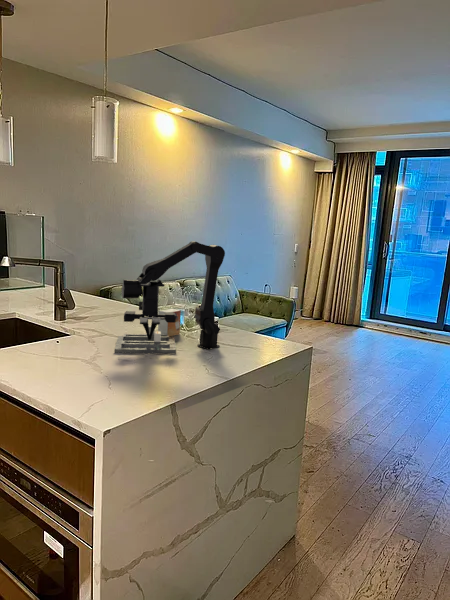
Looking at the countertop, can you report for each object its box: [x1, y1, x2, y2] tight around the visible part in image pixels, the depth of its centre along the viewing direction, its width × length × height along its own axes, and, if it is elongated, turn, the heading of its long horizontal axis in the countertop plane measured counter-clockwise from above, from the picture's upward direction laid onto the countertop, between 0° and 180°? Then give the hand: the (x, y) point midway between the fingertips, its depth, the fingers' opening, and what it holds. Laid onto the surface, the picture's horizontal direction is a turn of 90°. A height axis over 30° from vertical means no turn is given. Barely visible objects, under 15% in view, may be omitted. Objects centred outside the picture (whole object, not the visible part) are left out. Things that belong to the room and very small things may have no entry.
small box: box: [157, 308, 182, 337], centre depth 193 cm, size 8×6×10 cm
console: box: [113, 333, 177, 355], centre depth 174 cm, size 22×19×3 cm
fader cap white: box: [154, 330, 161, 344], centre depth 170 cm, size 2×4×5 cm, turn 9°
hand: (149, 339), depth 170 cm, fingers closed
